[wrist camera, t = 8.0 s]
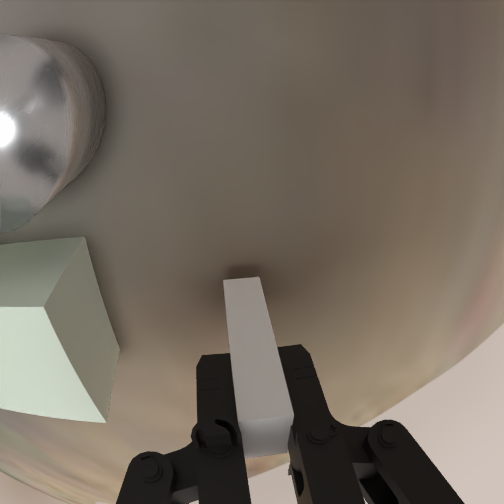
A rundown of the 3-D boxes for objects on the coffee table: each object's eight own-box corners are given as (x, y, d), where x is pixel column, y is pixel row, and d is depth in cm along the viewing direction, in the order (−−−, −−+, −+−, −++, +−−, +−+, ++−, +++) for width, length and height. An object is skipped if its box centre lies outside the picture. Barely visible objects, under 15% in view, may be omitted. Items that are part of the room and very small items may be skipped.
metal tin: (-25, 69, 8) (-84, 79, 4) (101, 22, 9) (58, 2, 5) (-3, 200, 11) (-51, 243, 8) (116, 178, 12) (83, 220, 8)
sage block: (-23, 245, 12) (-73, 304, 8) (85, 234, 13) (43, 306, 9) (22, 344, 16) (-4, 407, 11) (120, 347, 16) (106, 422, 12)
